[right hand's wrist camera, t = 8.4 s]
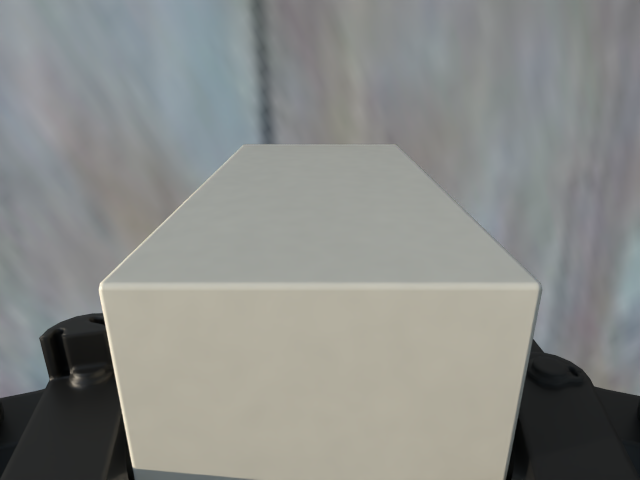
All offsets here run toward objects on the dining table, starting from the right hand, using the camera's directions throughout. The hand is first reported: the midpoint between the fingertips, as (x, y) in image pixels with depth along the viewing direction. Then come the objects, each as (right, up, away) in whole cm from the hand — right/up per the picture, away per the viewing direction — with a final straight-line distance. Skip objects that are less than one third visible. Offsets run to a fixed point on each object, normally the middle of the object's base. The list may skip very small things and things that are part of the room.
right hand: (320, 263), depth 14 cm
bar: (0, -11, +5) cm, 12 cm away
